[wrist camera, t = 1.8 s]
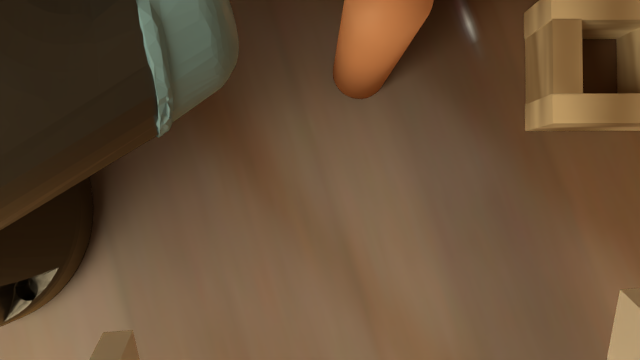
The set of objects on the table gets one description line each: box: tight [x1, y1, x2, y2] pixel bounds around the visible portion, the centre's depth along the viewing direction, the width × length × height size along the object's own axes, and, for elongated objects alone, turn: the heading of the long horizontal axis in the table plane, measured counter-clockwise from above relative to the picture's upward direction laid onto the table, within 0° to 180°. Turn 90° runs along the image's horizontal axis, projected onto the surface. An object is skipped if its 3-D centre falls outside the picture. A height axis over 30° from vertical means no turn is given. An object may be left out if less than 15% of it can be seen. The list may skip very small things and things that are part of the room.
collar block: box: [524, 0, 640, 131], centre depth 33 cm, size 8×8×4 cm
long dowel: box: [333, 0, 434, 99], centre depth 28 cm, size 4×4×14 cm
